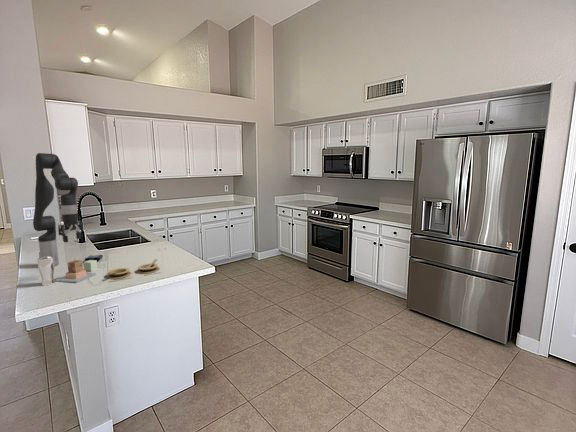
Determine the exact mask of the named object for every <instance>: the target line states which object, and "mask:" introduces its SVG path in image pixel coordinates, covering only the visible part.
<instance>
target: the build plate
mask: <svg viewBox="0 0 576 432" xmlns="http://www.w3.org/2000/svg"><path fill="white" fill-rule="evenodd" d="M96 275H97V273H96V272H95V273H94V272H86V270H84V269H83V271H80V272H78V273H69V272H68V271H67V272H65V275H64V276H62V277H59V278H57V279H55V283H57V282H58V283H71V284H72V283H73V284H77V283H81V282H82V281H85V280H87V279H90V278H92V277H95V276H96Z"/></svg>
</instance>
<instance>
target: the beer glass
mask: <svg viewBox="0 0 576 432" xmlns="http://www.w3.org/2000/svg"><path fill="white" fill-rule="evenodd" d="M37 268H38V271H39V274H40V277H41V286H44V287H45V286H51V285H53V284H56V279H55V278H54V276H55V275H54V272H55V266H54V261H53V257H52V256H46V257H41V258H39V257H38V258H37Z"/></svg>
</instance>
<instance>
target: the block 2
mask: <svg viewBox="0 0 576 432" xmlns="http://www.w3.org/2000/svg"><path fill="white" fill-rule="evenodd" d="M83 270H86V273H93V272H95V271H97V270H98V261H97V260H89V261H84V262H83Z"/></svg>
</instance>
